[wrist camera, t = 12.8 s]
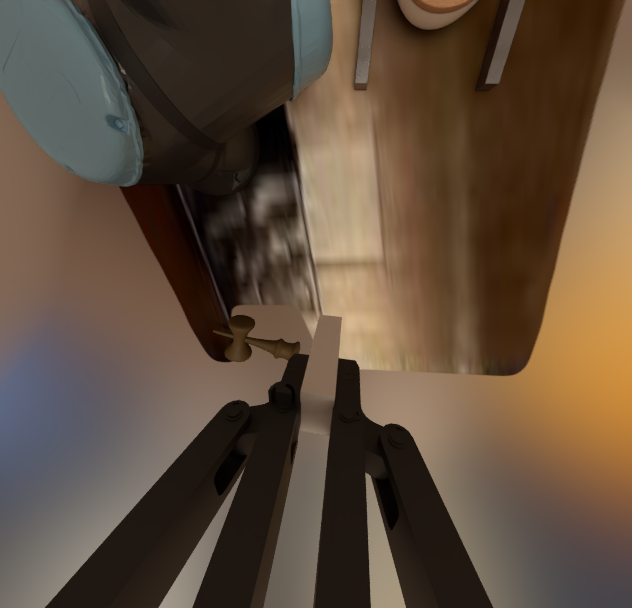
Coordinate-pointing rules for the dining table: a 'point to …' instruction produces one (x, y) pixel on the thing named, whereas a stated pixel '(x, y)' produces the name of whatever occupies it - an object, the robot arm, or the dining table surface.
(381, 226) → the dining table surface
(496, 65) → the grey u-shaped frame
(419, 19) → the lidded jar
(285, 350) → the kendama
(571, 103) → the dining table surface
